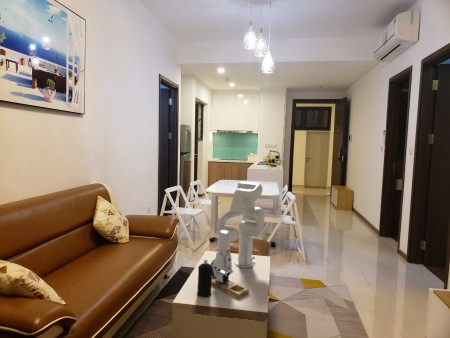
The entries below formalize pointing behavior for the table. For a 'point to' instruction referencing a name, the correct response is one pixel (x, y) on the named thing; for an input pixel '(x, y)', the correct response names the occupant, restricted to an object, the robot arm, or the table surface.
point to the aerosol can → (204, 280)
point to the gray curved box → (213, 269)
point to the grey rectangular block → (220, 278)
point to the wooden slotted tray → (231, 288)
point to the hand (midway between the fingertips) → (222, 279)
